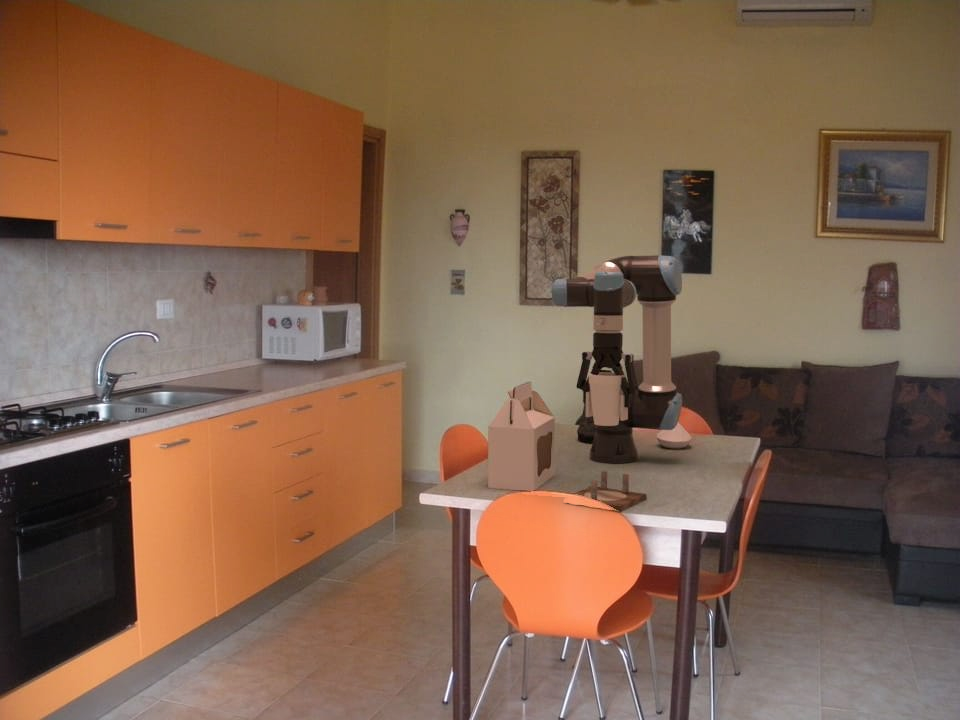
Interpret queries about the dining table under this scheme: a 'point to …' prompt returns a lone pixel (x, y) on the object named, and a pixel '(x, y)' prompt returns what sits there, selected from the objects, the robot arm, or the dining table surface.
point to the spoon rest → (674, 437)
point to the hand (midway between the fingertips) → (606, 418)
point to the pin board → (613, 493)
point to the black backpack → (587, 426)
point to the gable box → (521, 442)
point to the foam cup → (606, 398)
